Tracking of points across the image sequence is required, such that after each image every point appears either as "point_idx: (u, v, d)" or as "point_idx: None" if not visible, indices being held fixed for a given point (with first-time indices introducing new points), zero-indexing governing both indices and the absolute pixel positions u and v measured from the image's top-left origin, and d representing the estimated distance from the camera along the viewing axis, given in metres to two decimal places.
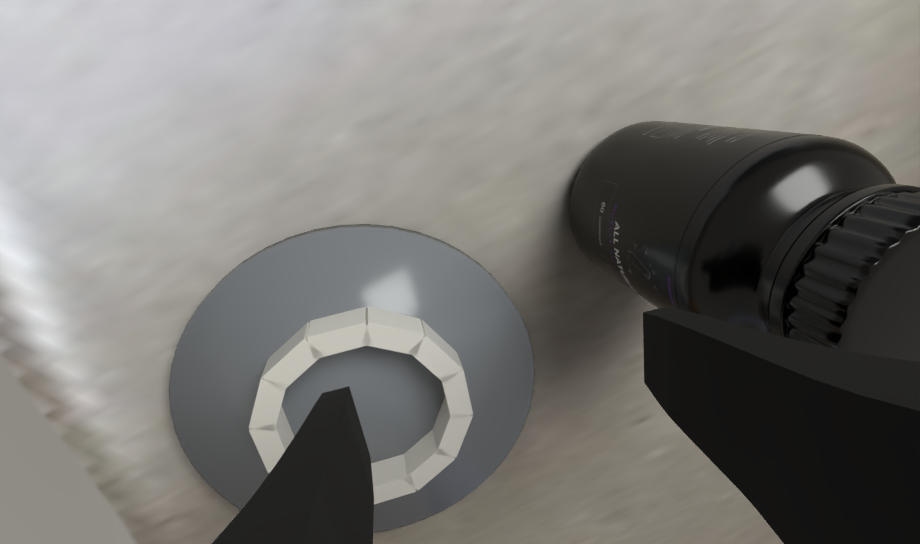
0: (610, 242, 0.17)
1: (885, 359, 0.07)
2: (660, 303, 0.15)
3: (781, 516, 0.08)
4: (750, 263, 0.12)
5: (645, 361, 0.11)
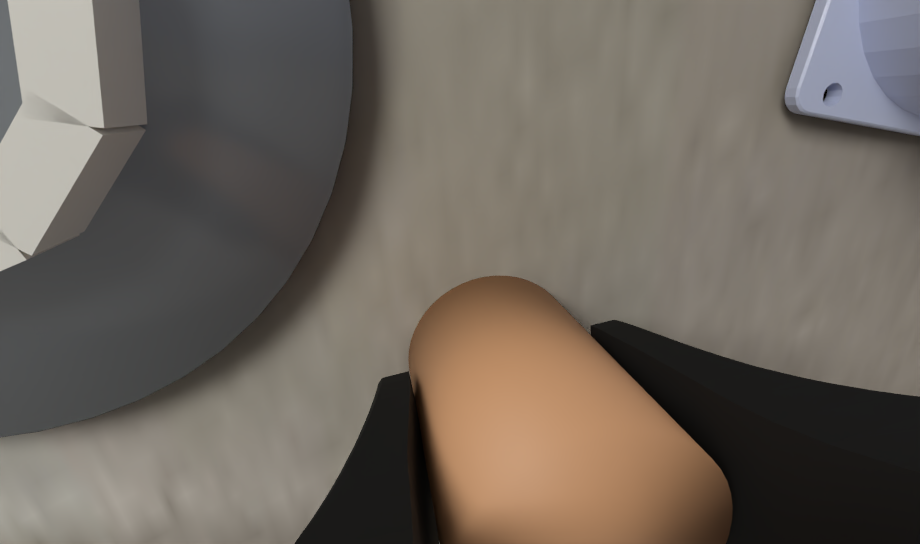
0: None
1: (808, 380, 0.07)
2: None
3: None
4: None
5: None
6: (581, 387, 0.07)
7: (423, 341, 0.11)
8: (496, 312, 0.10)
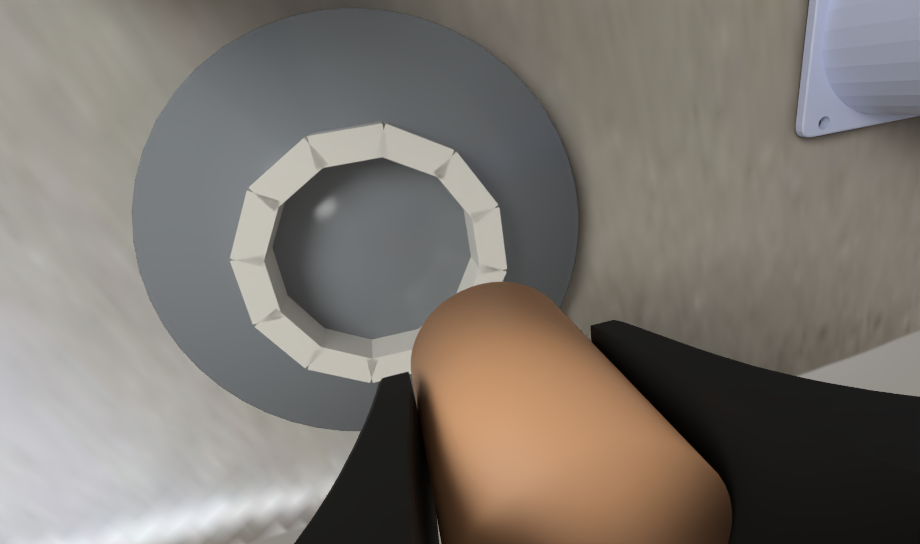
0: None
1: (808, 381, 0.07)
2: None
3: None
4: None
5: None
6: (577, 395, 0.07)
7: (424, 350, 0.11)
8: (493, 320, 0.10)
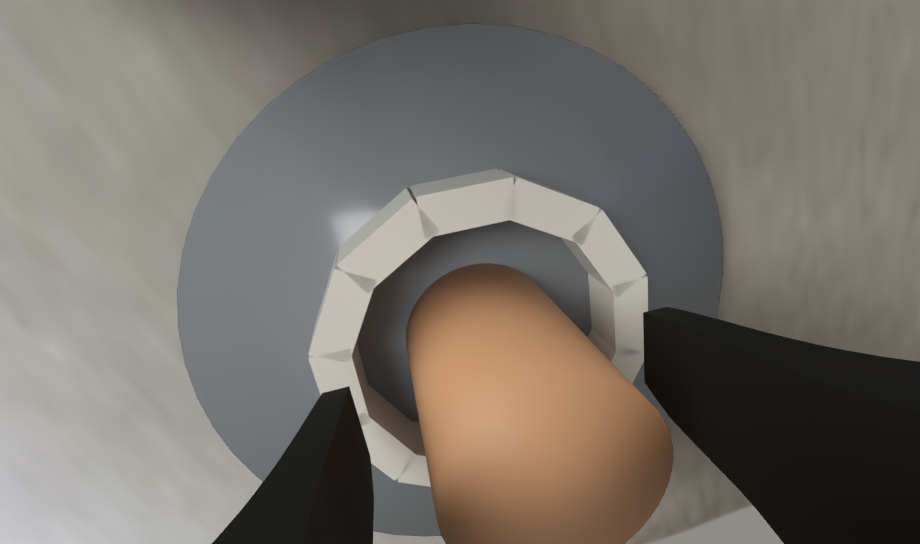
0: None
1: (884, 360, 0.07)
2: None
3: (781, 516, 0.08)
4: None
5: (645, 361, 0.11)
6: (543, 348, 0.08)
7: (416, 322, 0.12)
8: (478, 293, 0.11)
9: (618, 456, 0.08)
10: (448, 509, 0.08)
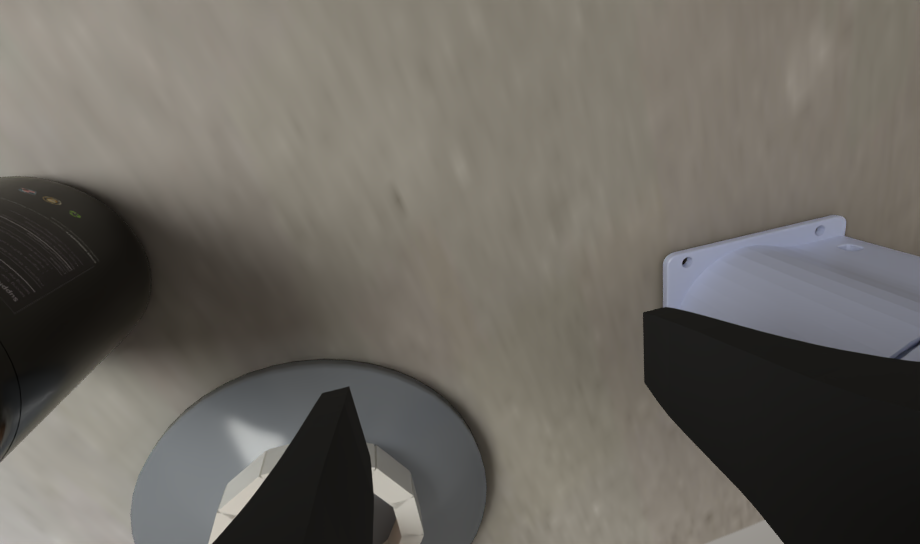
0: None
1: (884, 359, 0.07)
2: None
3: (781, 516, 0.08)
4: None
5: (645, 361, 0.11)
6: None
7: None
8: None
9: None
10: None
